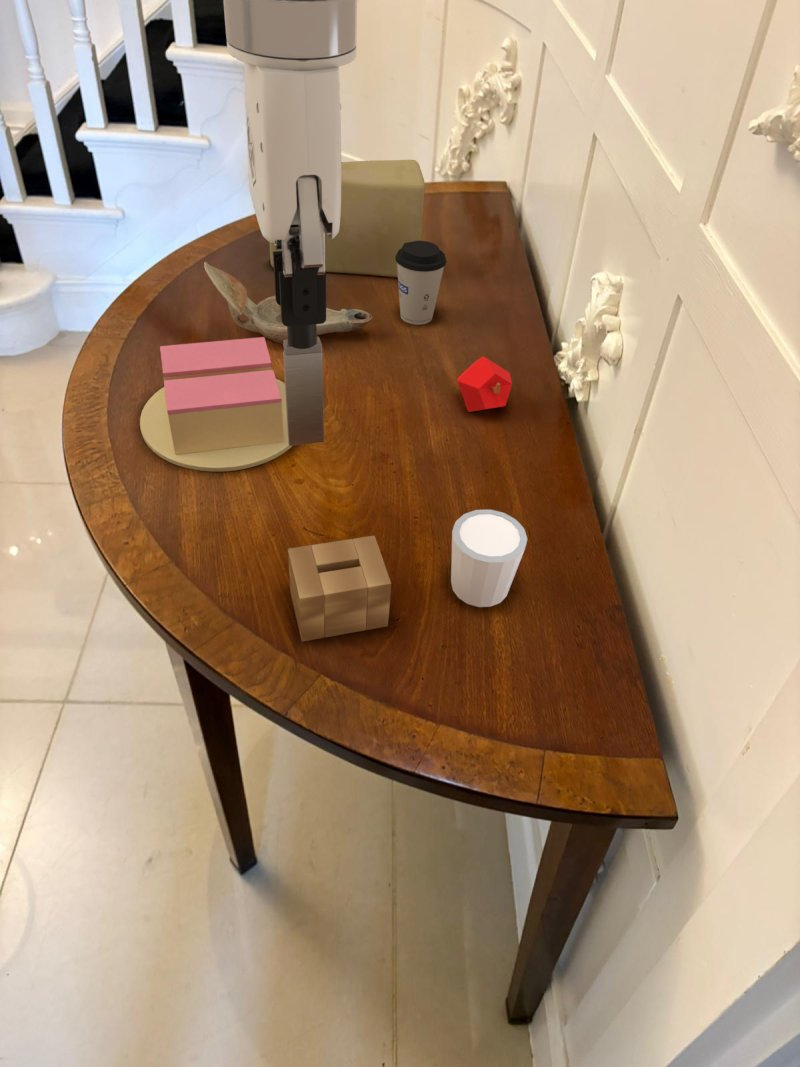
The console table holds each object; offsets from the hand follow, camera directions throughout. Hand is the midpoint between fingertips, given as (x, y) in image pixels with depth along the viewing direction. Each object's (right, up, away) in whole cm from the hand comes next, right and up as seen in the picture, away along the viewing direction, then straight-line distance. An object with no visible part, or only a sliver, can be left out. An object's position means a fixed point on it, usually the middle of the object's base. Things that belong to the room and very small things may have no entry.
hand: (300, 310), depth 58 cm
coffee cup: (+10, +14, +54) cm, 56 cm away
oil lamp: (-7, +10, +48) cm, 50 cm away
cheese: (-1, +24, +63) cm, 67 cm away
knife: (-1, -9, +9) cm, 12 cm away
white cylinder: (+15, -22, +18) cm, 32 cm away
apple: (+17, -1, +39) cm, 43 cm away
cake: (-13, -3, +34) cm, 37 cm away
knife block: (+2, -23, +15) cm, 28 cm away
